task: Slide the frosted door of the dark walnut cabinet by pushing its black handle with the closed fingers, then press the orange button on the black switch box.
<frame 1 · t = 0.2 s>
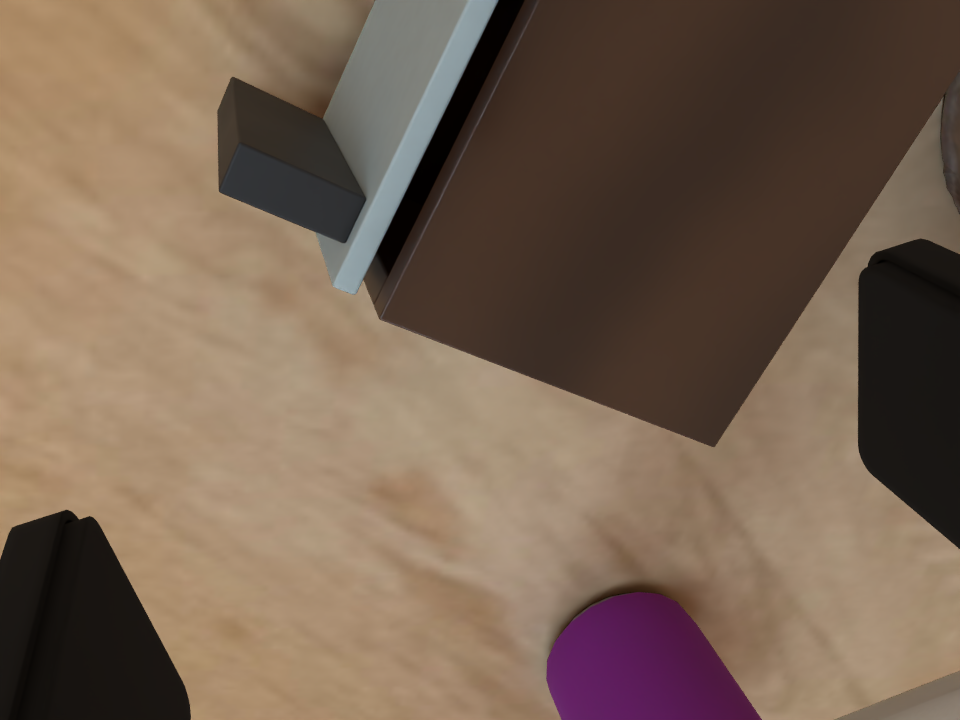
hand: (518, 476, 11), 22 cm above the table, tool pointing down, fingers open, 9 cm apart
door: (330, 65, 23), point 6 cm above the table, slide at 0.0 cm
beverage can: (612, 640, 44), on the table
cabinet: (557, 27, 30), on the table
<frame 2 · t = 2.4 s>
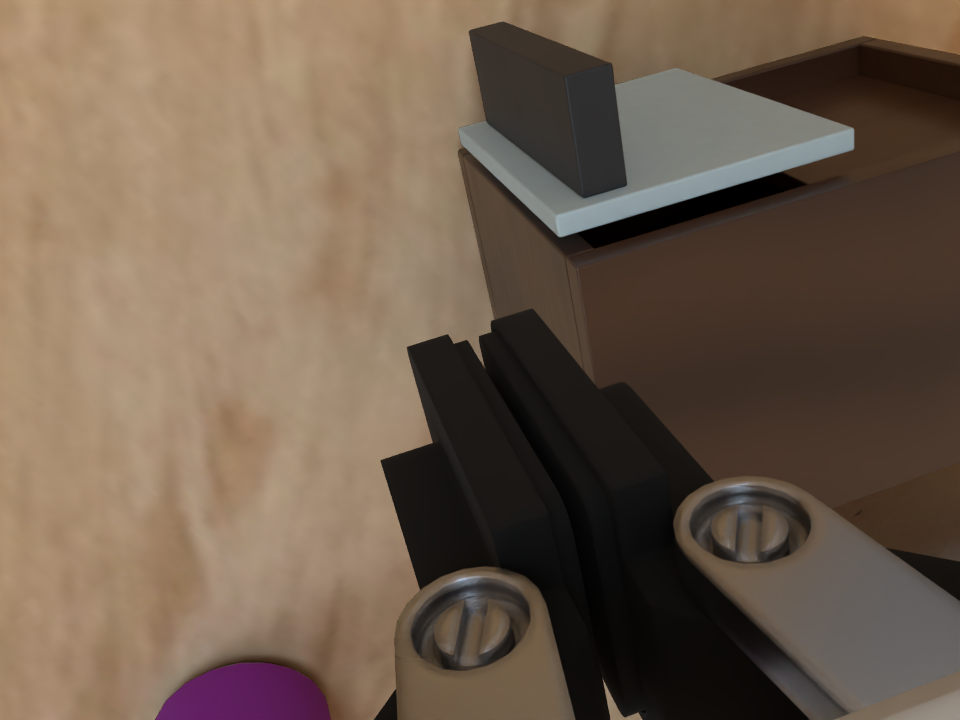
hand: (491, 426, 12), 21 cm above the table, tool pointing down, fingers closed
door: (622, 86, 26), point 6 cm above the table, slide at 0.0 cm
beverage can: (242, 711, 40), on the table
planter: (875, 561, 47), on the table
cabinet: (679, 219, 35), on the table
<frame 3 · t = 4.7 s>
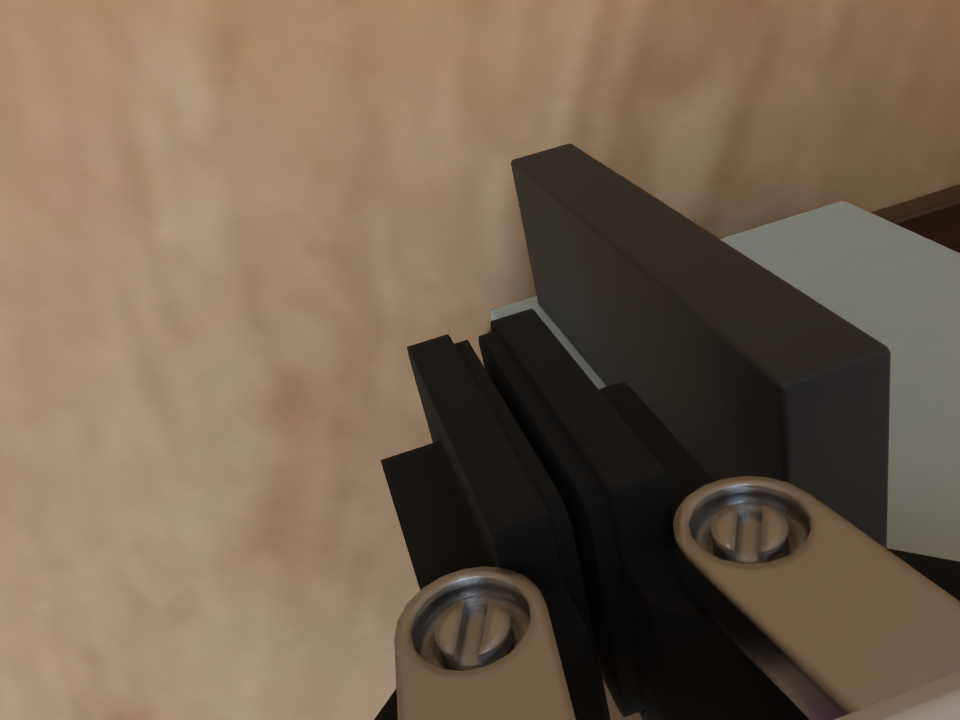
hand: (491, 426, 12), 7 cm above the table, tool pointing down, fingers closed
door: (807, 287, 14), point 6 cm above the table, slide at 0.1 cm, touching gripper
cabinet: (819, 410, 23), on the table
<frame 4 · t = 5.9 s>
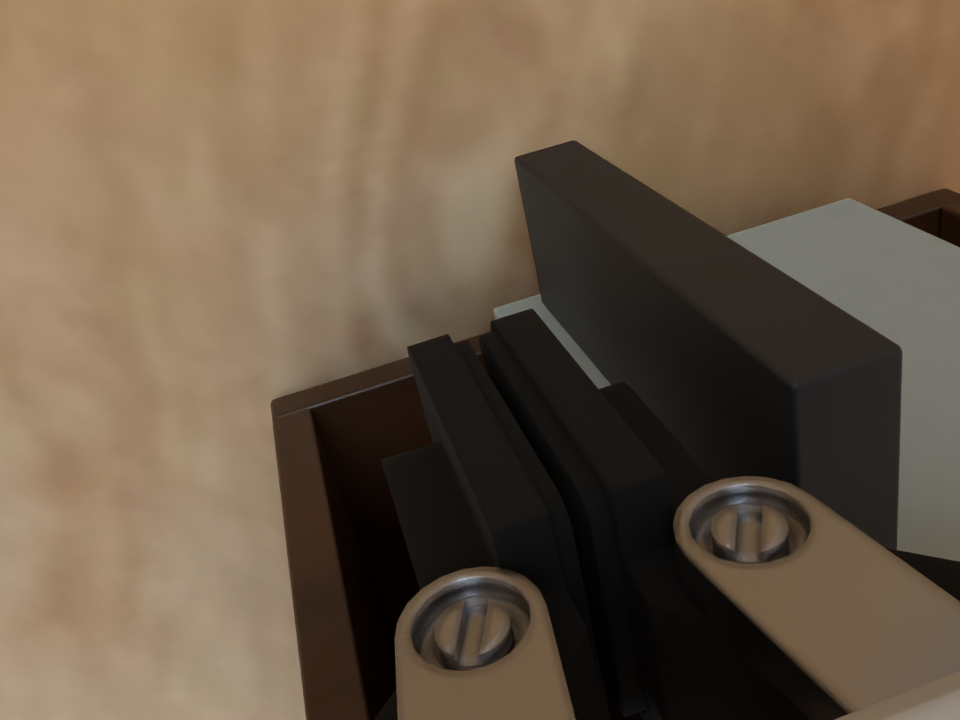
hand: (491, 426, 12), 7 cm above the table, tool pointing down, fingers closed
door: (814, 285, 13), point 6 cm above the table, slide at 4.8 cm, touching gripper
cabinet: (650, 468, 22), on the table
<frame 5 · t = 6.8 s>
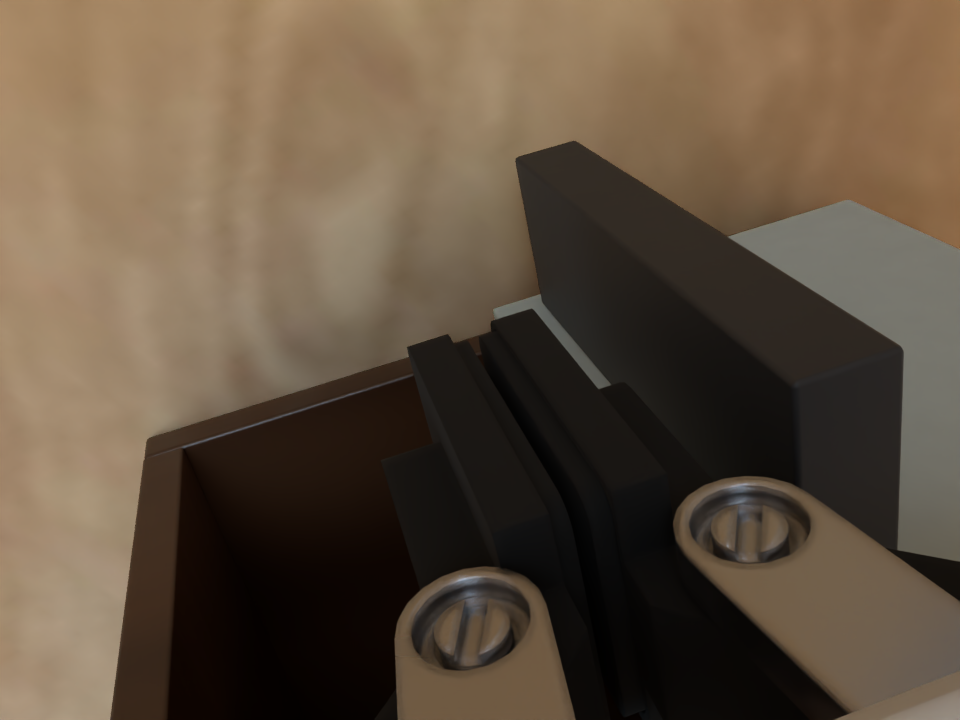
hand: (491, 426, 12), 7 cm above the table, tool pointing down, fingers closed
door: (815, 286, 13), point 6 cm above the table, slide at 7.4 cm, touching gripper
cabinet: (552, 502, 22), on the table
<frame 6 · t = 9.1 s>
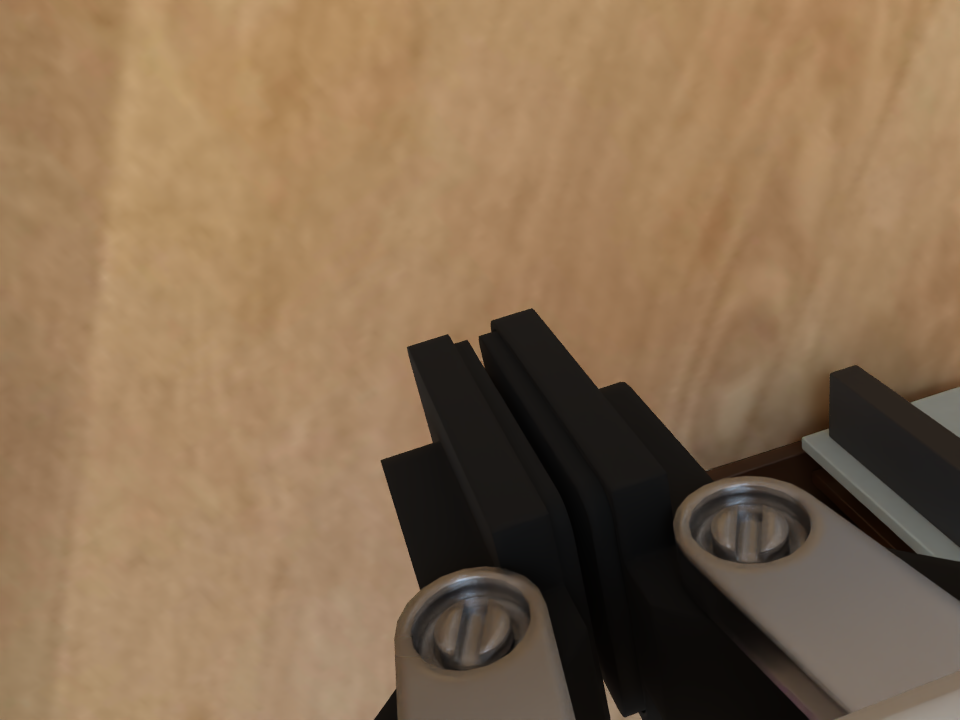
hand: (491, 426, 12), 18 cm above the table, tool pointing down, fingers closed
cabinet: (801, 531, 40), on the table
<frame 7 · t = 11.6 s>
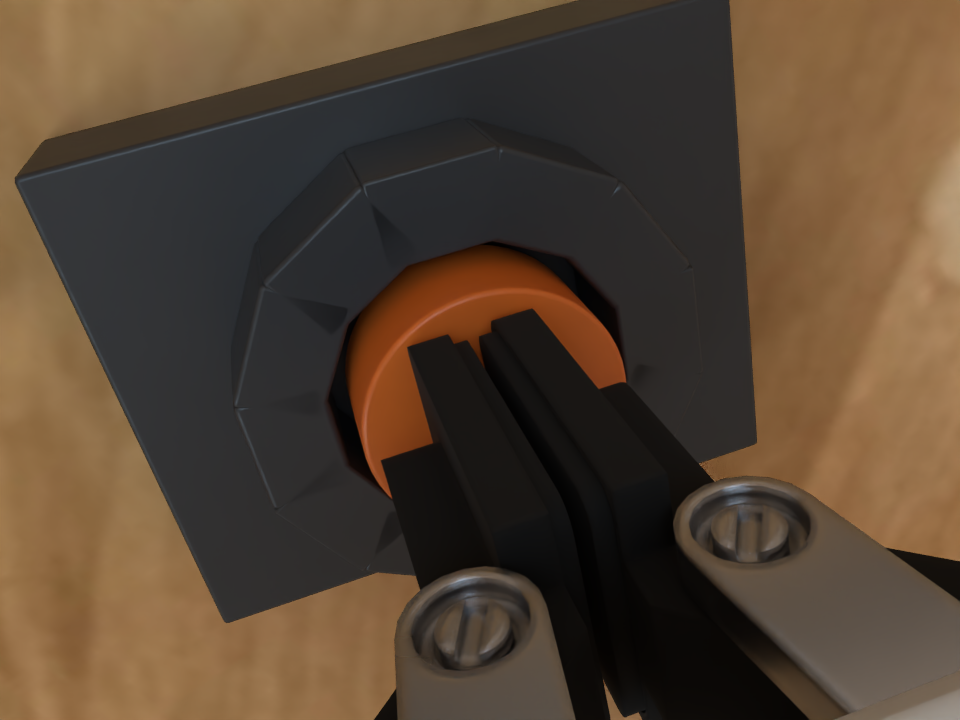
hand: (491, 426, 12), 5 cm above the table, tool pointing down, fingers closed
button: (482, 387, 12), point 4 cm above the table, slide at -0.5 cm, touching gripper
switch box: (425, 285, 16), on the table
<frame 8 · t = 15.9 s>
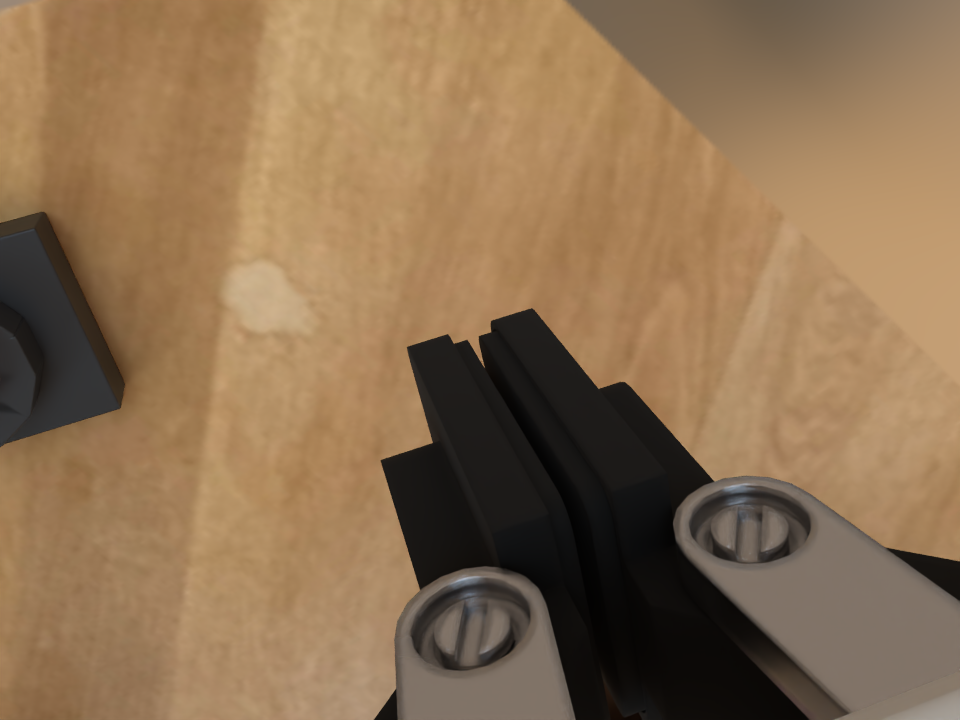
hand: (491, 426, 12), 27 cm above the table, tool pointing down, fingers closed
cabinet: (668, 693, 56), on the table
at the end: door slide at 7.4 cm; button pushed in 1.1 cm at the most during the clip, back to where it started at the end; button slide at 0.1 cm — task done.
